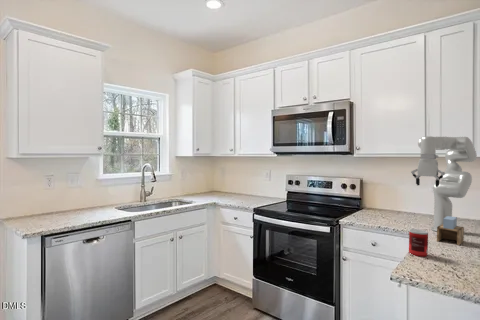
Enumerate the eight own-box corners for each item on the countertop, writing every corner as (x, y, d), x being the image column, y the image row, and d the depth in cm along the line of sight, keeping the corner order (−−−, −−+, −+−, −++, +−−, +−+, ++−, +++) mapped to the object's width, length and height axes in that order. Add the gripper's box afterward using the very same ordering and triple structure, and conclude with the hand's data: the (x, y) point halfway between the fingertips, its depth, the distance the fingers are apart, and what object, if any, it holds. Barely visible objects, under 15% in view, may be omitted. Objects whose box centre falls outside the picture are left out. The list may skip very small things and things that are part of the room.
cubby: (442, 237, 173) (442, 224, 173) (463, 241, 166) (463, 227, 166) (436, 241, 165) (437, 226, 165) (458, 245, 158) (459, 230, 158)
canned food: (420, 251, 145) (421, 229, 145) (431, 257, 137) (432, 233, 137) (404, 251, 145) (405, 228, 144) (415, 257, 137) (415, 233, 136)
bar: (446, 224, 172) (447, 216, 172) (456, 226, 169) (456, 217, 169) (443, 227, 163) (443, 218, 163) (453, 229, 160) (453, 220, 160)
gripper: (446, 157, 174) (445, 186, 175) (413, 157, 186) (412, 184, 187) (443, 157, 169) (443, 187, 169) (409, 157, 181) (409, 185, 181)
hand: (427, 185), depth 178 cm, fingers open, 9 cm apart
